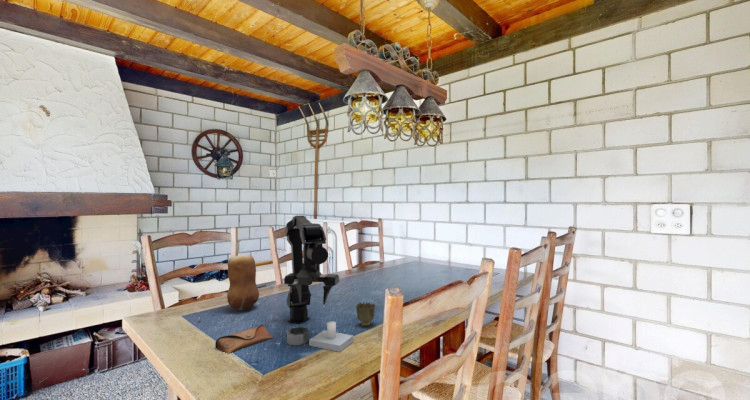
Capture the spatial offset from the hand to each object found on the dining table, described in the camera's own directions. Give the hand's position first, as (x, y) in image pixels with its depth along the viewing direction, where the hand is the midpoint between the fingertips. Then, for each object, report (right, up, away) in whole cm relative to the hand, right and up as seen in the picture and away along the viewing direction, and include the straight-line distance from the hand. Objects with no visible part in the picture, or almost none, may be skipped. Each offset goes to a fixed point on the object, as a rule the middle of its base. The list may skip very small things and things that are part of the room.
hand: (311, 303), depth 118 cm
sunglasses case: (-22, -13, -3) cm, 26 cm away
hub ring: (-5, -12, -2) cm, 13 cm away
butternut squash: (-38, -14, +33) cm, 52 cm away
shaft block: (+8, -12, -4) cm, 15 cm away
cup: (+19, -13, +12) cm, 26 cm away
